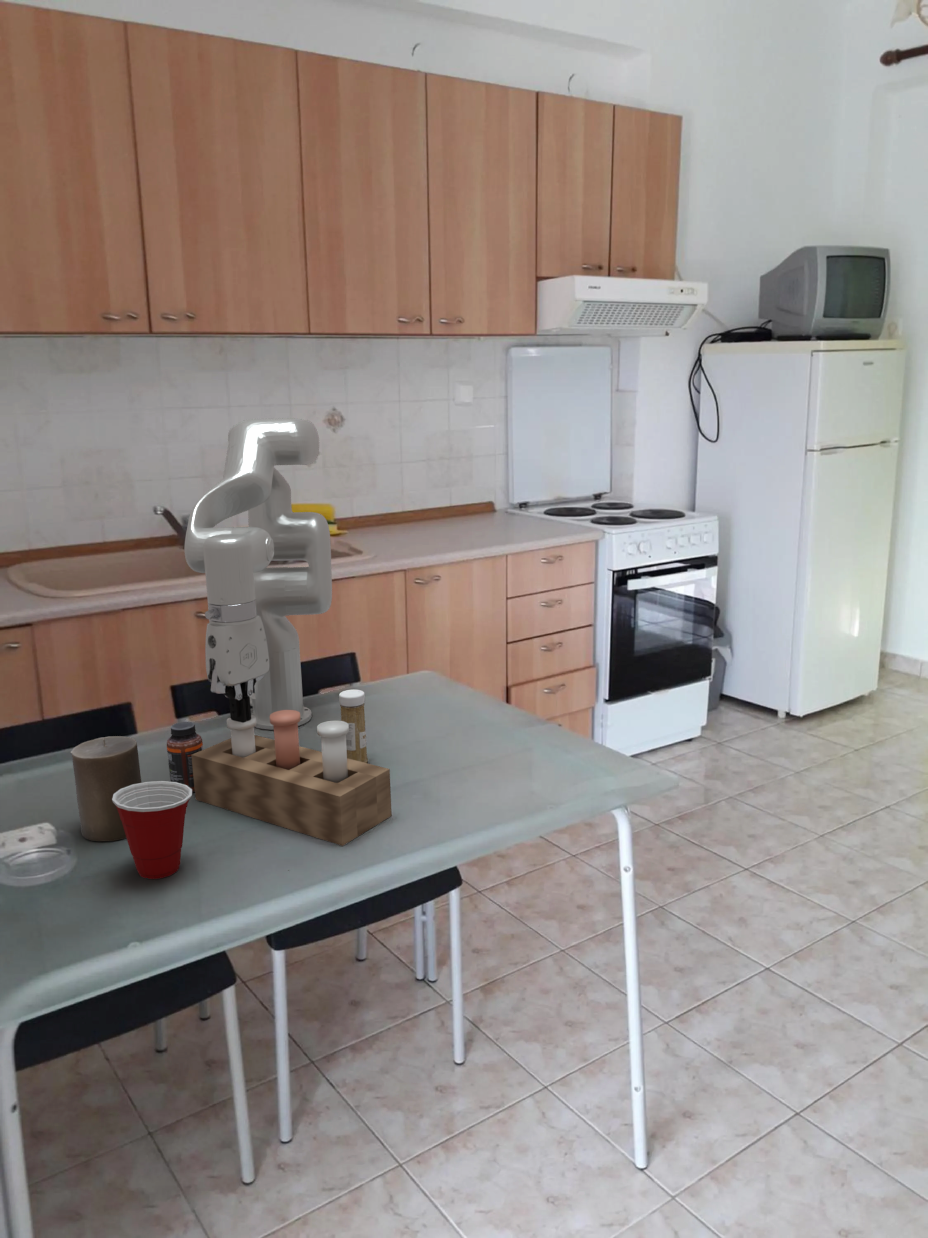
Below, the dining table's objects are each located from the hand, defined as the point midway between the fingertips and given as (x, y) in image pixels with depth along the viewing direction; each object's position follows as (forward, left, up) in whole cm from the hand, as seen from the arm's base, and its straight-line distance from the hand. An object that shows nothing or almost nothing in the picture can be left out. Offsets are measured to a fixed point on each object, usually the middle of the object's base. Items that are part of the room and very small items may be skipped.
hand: (241, 719), depth 162 cm
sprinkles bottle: (+7, +20, -14) cm, 25 cm away
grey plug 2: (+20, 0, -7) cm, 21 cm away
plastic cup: (+8, -25, -14) cm, 29 cm away
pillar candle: (-9, -20, -14) cm, 26 cm away
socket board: (+10, 0, -14) cm, 17 cm away
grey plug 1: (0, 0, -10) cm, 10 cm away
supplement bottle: (-11, -3, -14) cm, 18 cm away
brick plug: (+10, 0, -8) cm, 12 cm away
